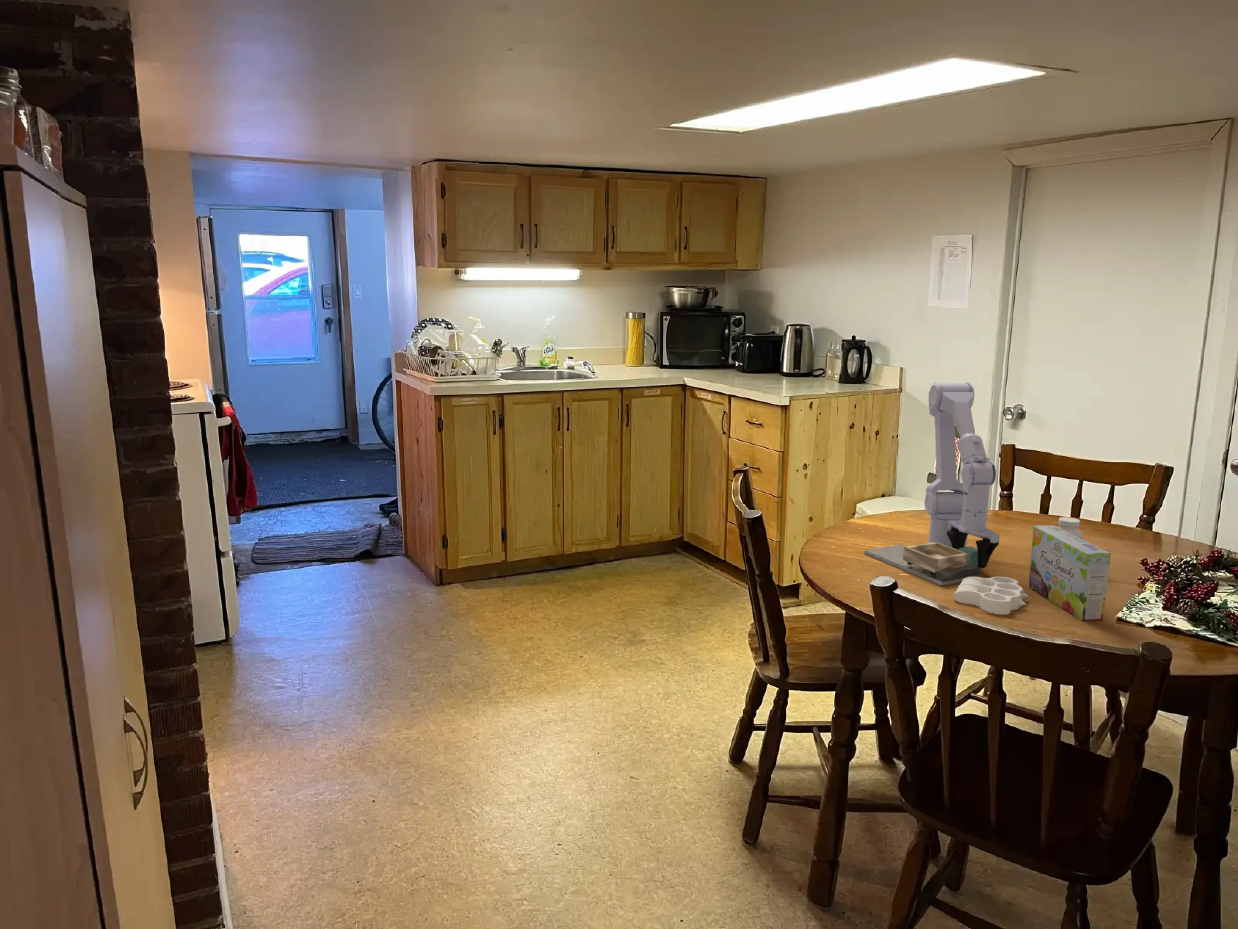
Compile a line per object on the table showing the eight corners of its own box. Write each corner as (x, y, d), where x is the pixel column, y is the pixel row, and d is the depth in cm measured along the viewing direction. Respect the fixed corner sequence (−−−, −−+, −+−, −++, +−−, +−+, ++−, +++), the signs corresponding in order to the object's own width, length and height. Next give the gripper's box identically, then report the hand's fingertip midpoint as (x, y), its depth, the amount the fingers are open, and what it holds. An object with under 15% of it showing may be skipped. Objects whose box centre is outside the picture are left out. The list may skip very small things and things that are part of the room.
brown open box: (935, 558, 221) (936, 542, 220) (967, 570, 211) (969, 553, 210) (902, 563, 216) (903, 547, 215) (934, 576, 207) (935, 559, 206)
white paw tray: (964, 584, 207) (1032, 595, 200) (950, 607, 192) (1022, 620, 185) (965, 570, 207) (1033, 581, 199) (951, 593, 191) (1024, 605, 184)
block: (969, 565, 220) (970, 546, 218) (981, 570, 216) (983, 550, 215) (957, 567, 218) (958, 548, 217) (969, 572, 214) (971, 552, 213)
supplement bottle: (1082, 575, 213) (1088, 524, 210) (1052, 573, 214) (1058, 522, 211) (1074, 566, 219) (1080, 516, 217) (1045, 564, 221) (1051, 515, 218)
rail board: (900, 548, 233) (900, 537, 232) (979, 579, 209) (980, 567, 208) (864, 553, 228) (865, 542, 227) (941, 586, 204) (942, 574, 203)
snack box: (1025, 587, 204) (1032, 524, 201) (1048, 586, 205) (1055, 524, 202) (1079, 621, 184) (1088, 552, 181) (1105, 621, 184) (1114, 552, 181)
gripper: (940, 504, 219) (935, 556, 221) (986, 519, 206) (981, 574, 209) (961, 501, 221) (956, 553, 224) (1008, 515, 209) (1002, 570, 211)
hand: (969, 563), depth 217 cm, fingers open, 7 cm apart
